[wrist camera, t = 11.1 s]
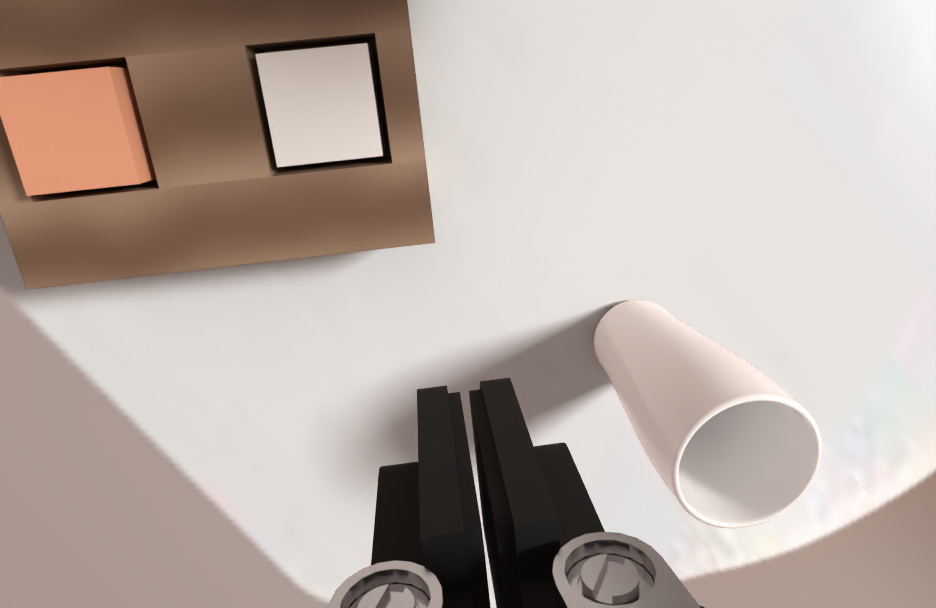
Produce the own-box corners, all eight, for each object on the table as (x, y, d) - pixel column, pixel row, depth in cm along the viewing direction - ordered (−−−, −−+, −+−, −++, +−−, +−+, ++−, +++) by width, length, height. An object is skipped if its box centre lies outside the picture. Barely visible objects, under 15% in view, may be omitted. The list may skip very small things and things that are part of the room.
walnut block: (4, -10, 32) (-85, -32, 26) (400, -46, 33) (398, -75, 27) (86, 258, 36) (26, 289, 31) (431, 219, 37) (435, 242, 32)
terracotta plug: (40, 79, 30) (-12, 78, 27) (145, 69, 31) (108, 66, 27) (71, 183, 32) (26, 196, 28) (171, 173, 32) (139, 183, 28)
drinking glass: (564, 367, 41) (645, 513, 27) (603, 272, 39) (712, 375, 25) (656, 393, 42) (780, 545, 28) (699, 302, 40) (854, 416, 26)
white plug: (273, 58, 32) (255, 54, 28) (372, 48, 32) (367, 42, 28) (292, 158, 33) (277, 167, 30) (386, 148, 34) (382, 155, 30)
